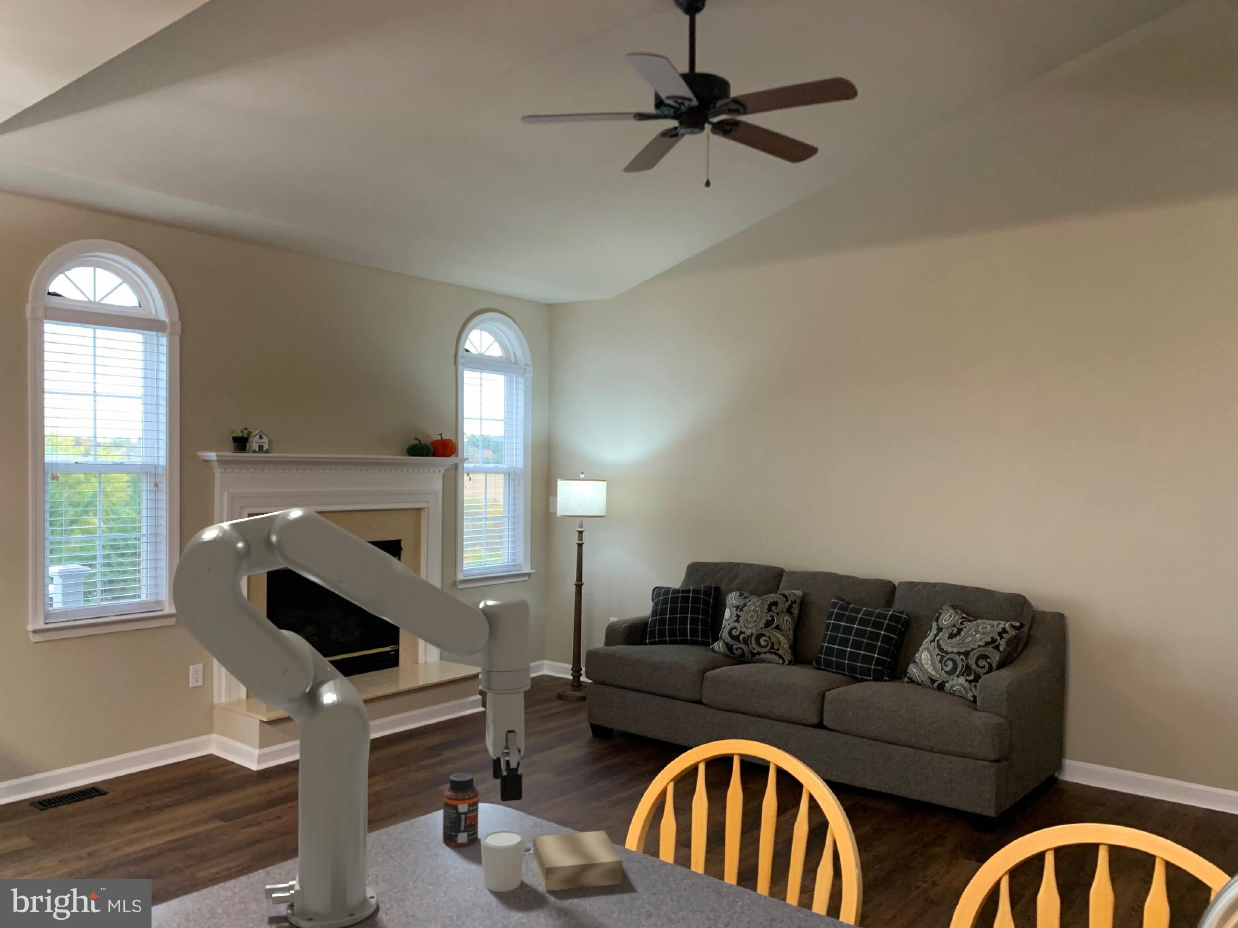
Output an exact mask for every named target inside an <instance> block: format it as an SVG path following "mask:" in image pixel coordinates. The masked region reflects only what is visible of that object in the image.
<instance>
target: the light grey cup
mask: <svg viewBox="0 0 1238 928" xmlns="http://www.w3.org/2000/svg"><path fill="white" fill-rule="evenodd" d="M524 846H526V837H525V835H524V834H522V833H519V831H514V830H498V831H497V830H496V831H492V832H488V833H486V834H484V835H483V836H481V839H480V849H481V850H480V851H481V853H480V854H481V862H482V863H481V864H482V875H483V885H484V888H485V889H487V890H489V891H492V892H498V893H499V892H500V893H503V892H510V891H509V890H511V891H513V889H514V890H516V889H517V888H519V887H520V886H521V883H522V874H523V864H524V856H525V855H524ZM519 885H520V886H519ZM518 886H519V887H518ZM515 888H516V889H515Z"/></svg>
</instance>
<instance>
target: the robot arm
mask: <svg viewBox="0 0 1238 928" xmlns="http://www.w3.org/2000/svg"><path fill="white" fill-rule="evenodd" d="M283 568H288V569H290V570H291V571H294V572H295V573H297V574H299V575H301V576H302V577H303V578H304V577H305V578H307V579H308V580H309V581H312V582H315V583H316V584H318V585H320V586H322V587H324V588H325V589H327V590H330V591H331V592H334V593H335V594H337V595H339V596H340V597H342V598H344V599H346V600H348V601H350V602H351V603H353V604H355V605H357V606H358V607H361V608H362V609H364V610H365V611H367V612H368V613H370V614H372V615H375V616H377V617H379V618H381V619H383V620H385V621H388V622H389V623H391V624H393V625H394V626H397V627H399V628H400V629H402V630H404V631H405V632H407V633H408V634H410V635H412V636H414V637H416V638H418V639H420V640H421V641H424V642H425V643H427V644H429V645H431V646H432V647H434V648H437V649H438V650H440V651H442V652H443V653H446V654H447V655H450V656H453V657H455V658H469V657H473V656H475V655H477V654H479V653H480V666H481V668H480V669H481V671H480V674H481V676H480V677H481V680H480V682H481V687H480V688H481V690H482V691H484V692H486V708H485V709H486V714H485V715H486V717H485V718H486V720H485V721H486V722H485V724H486V725H485V729H486V730H485V743H486V747H487V750H488V753H489V755H490V757H491V759H492V778H493V779H494V780H499V782H500V783H499V785H500V786H499V787H500V791H499V792H500V794H499V795H500V796H499V797H500V800H501V802H512V801H521V800H522V799H523V772H522V764H521V762H522V761H521V757H522V756H523V755H524V753H525V699H524V692H525V691H527V690H529V689H531V627H530V626H531V617H530V616H531V612H530V608H531V607H530V605H529V602H528V601H527V600H526V599H524V598H522V597H519V596H496V597H491V598H488V599H486V598H485V599H484V598H483V599H481V598H468V597H467V598H466V597H456V596H454V595H452V594H450V593H449V592H446V591H444V590H443V589H441V588H439V587H437V586H436V585H434V584H433V583H431V582H429V581H427V580H426V579H424V578H423V577H422V576H420V575H418V574H417V573H415V572H414V571H413V570H411V569H410V568H409V567H408V566H407V565H405V564H404V563H403V562H401V561H400V560H398V559H397V558H395V557H394V556H392V555H391V554H390V553H388V552H387V551H386V552H385V551H384V550H382V549H380V548H378V547H377V546H375V545H373V544H372V543H370V542H368V541H365V540H364V539H362V538H360V537H358V536H357V535H355V534H353V533H351V532H349V531H348V530H346V529H344V528H343V527H341V526H339V525H337V524H335V523H333V522H332V521H330V520H329V519H326V518H324V517H323V516H321V515H320V514H319V513H317V512H316V511H314V510H312V509H309V508H306V507H293V508H289V509H284V510H281V511H276V512H272V513H267V514H264V515H263V514H262V515H258V516H253V517H247V518H243V519H237V520H232V521H227V522H223V523H218V524H217V523H216V524H213V525H210V526H207V527H205V528H203V529H201V530H199V531H198V532H196V533H195V534H194V536H193V537H192V538H191V539H190V540H189V541H188V543H187V544H186V545H185V547H184V548H183V552H181V556H180V558H179V560H178V562H177V566H176V569H175V572H174V575H173V582H172V601H173V606H174V610H175V612H176V615H177V617H178V619H179V622H181V625H182V626H183V628H184V629H185V630H186V632H187V633H189V635H190V636H191V637H192V638H193V639H194V640H195V641H196V642H197V643H198V644H199V645H200V646H201V647H202V648H204V650H206V652H208V654H209V655H211V656H212V657H213V658H214V659H215V660H216V661H217V662H218V664H220V665H221V666H222V667H223V668H224V669H225V670H226V671H227V672H228V673H229V674H230V675H232V676H233V677H234V679H236V681H238V682H239V683H240V684H241V685H242V686H243V687H244V688H245V689H246V690H247V691H248V692H249V693H250V694H251V695H252V697H254V699H256V700H257V701H258V702H260V703H262V704H264V705H266V706H268V707H273V708H279V709H281V710H282V711H284V713H285V714H286V715H288V716H289V717H290V718H291V719H292V720H293V721H295V722H296V724H298V725H297V726H298V733H299V734H298V735H299V740H298V742H299V759H298V760H299V761H298V762H299V763H298V764H299V765H298V839H297V840H298V846H297V847H298V851H297V852H298V855H297V861H298V862H297V863H298V864H297V869H298V870H297V873H296V878H295V879H294V880H293V879H292V880H289V881H288V883H280V884H279V883H274V884H273V883H272V884H266V885H265V887H264V888H265V889H264V890H265V891H264V900H271V905H282V904H286V908H285V915H286V918H287V919H286V920H288V922H290V923H291V924H292V925H294V926H296V927H299V928H345V927H349V926H352V925H354V924H356V923H359V922H361V921H363V920H365V919H367V918H368V917H370V915H372V914H373V912H375V910H376V909H377V907H378V895H377V893H376V891H375V890H374V889H373V888H371V887H370V886H367V879H368V877H367V875H368V873H367V871H368V869H367V868H368V866H367V865H368V863H367V862H368V800H369V799H368V780H369V778H368V775H369V772H368V771H369V756H370V747H371V746H370V745H371V723H370V717H369V713H368V711H367V708H366V706H365V703H364V701H363V699H362V696H361V695H360V694H359V692H358V690H357V688H356V687H355V686H354V684H352V683H351V681H349V679H347V677H345V676H344V675H343V674H342V673H341V672H340V671H338V669H337V668H335V667H334V665H332V663H330V662H329V661H328V660H327V659H326V658H325V657H324V656H323V654H321V653H320V652H319V651H318V650H317V649H315V648H314V647H313V646H312V645H311V643H309V642H308V641H307V640H306V639H304V637H302V636H300V634H297V633H295V632H294V631H290V630H286V629H279V628H278V627H277V626H276V625H275V624H274V623H272V622H271V621H270V619H268V618H267V616H265V614H264V613H263V612H262V611H261V610H260V609H259V608H258V607H256V606H255V605H254V604H253V603H252V602H251V601H249V600H248V599H247V598H246V596H245V595H244V593H243V590H242V588H241V587H242V586H241V581H242V580H243V578H244V577H248V576H253V575H257V574H262V573H265V572H270V571H274V570H278V569H283Z"/></svg>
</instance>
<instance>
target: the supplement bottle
mask: <svg viewBox="0 0 1238 928" xmlns="http://www.w3.org/2000/svg"><path fill="white" fill-rule="evenodd" d="M448 785H449V786H448V787H447V788H446V789H444V791H443V802H442V803H443V806H442V807H443V808H442V809H443V811H442V815H443V816H442V842H443V844H444V845H445V846H448V847H451V848H466V847H470V846H473V845H474V844H476V843H477V842H478V838H479V799H480V798H479V794H480V792H479V790H478V788H477V787H475V785H474V775H473V774H472V773H466V772H458V773H457V772H456V773H453V774H451V775H450V776H449V781H448Z"/></svg>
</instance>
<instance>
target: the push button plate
mask: <svg viewBox="0 0 1238 928" xmlns="http://www.w3.org/2000/svg"><path fill="white" fill-rule="evenodd" d="M528 846H529V845H525V846H524V847H527V848H524V852H533V851H530V850H531V849H533V848H530V847H528ZM525 850H526V851H525ZM525 856H529V855H528V854H526V855H525Z"/></svg>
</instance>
